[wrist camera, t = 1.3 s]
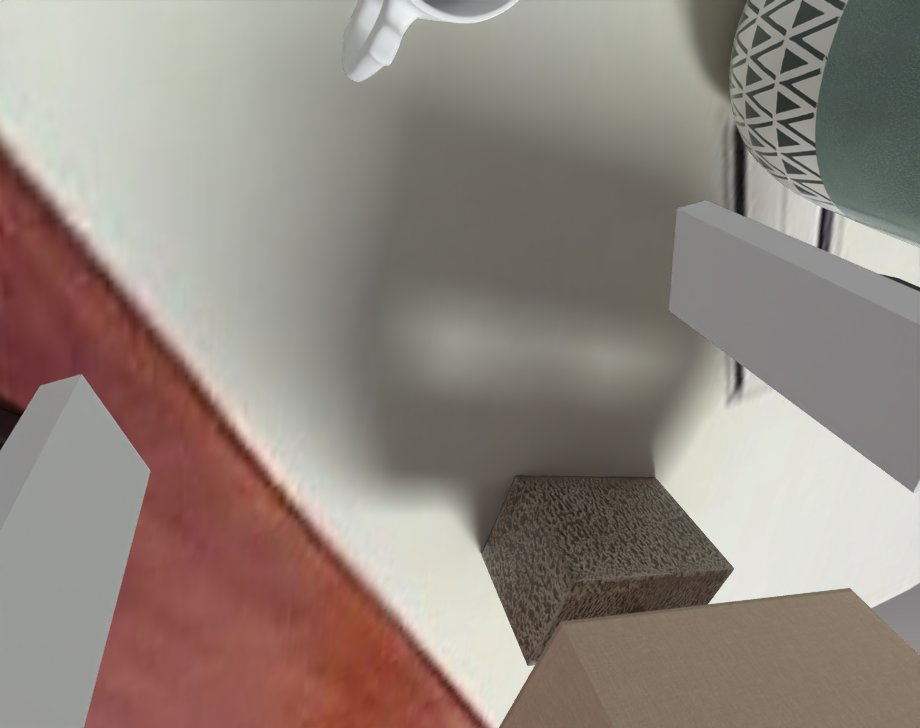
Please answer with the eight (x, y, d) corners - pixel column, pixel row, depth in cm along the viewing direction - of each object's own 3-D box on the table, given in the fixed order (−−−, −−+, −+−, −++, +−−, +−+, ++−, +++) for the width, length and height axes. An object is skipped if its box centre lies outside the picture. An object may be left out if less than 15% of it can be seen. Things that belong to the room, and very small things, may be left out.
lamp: (419, 581, 55) (656, 1405, 23) (471, 443, 48) (953, 1406, 15) (640, 565, 67) (1006, 1090, 34) (710, 453, 59) (1274, 996, 27)
